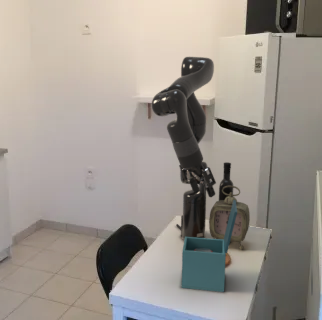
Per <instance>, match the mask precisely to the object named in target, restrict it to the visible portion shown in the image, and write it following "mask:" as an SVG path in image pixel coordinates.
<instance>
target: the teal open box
mask: <svg viewBox="0 0 322 320" xmlns="http://www.w3.org/2000/svg"><path fill="white" fill-rule="evenodd" d="M197 248H207V249H209V250H211V251H212V252H202V251H194V250H195V249H197ZM181 252H182V253H181V254H182V255H181V257H182V258H181V265H182V266H181V289H192V290H198V291H199V290H200V291H209V292H218V293H219V292H221V293H225V281H226V279H225V277H226V258H227V257H226V255H227V253H225V251H224V240H222V239H216V238H208V237H207V238H206V237H205V238H196V237H185V239H184V240H183V245H182V251H181Z"/></svg>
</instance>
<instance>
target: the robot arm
mask: <svg viewBox="0 0 322 320" xmlns="http://www.w3.org/2000/svg"><path fill="white" fill-rule="evenodd" d="M214 73H215V64H214V61H213V59H212V58H210V57H205V56H203V57H202V56H185V57H184V58H183V59H182V62H181V66H180V77H178V78H176V79H175V80H174V81H173V82H172V83H171V84H170V85H169V86H167V87H166V88H164V89H162V90H161V91H159V92H157V93H156V94H154V96H153V98H152V99H151V106H150V107H151V110H152V112H153V113H154V115H156V116H158V117H168V116H171V115H176V118H175V119H173V120H171V121H169V122H168V123H167V124H166V130H167V133H168V135H169V138H170V141H171V143H172V147H173V151H174V153H175V155H176V158H177V160H178V163H179V165H178V167H179V180H180V182H181V183H182V184H184V185H190V188H191V189H188V190H185V191H184V192H183V194H182V195H183V196H182V215H181V216H180V224H178V223H176V227H177V229H179V230H180V237H181V239H182V241H184V239H185V237H196V238H206V218H207V215H206V214H207V213H206V212H207V195H208V197H209V198H213V197H214V196H215V195H216V191H215V189H214V186H215V185H216V184H217V182H216V179H215V177H214V175H213V174H214V173H212V172H213V171H212V170H211V168H210V166H208V163H207V162H206V161H204V155H203V153H202V151H201V148H200V146H199V144H200V142H202V140H203V139H204V137H205V135H206V132H207V115H206V112H205V109H204V108H203V106H202V105H201V103H200V102H199V100H198V98H197V96H196V93H195V92H196V91H198V90H199V89H201V88H202V87H204V86H206V85H207V84H209V83H210V82H211V80H212V79H213V77H214Z"/></svg>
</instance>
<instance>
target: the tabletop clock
mask: <svg viewBox="0 0 322 320" xmlns="http://www.w3.org/2000/svg"><path fill="white" fill-rule="evenodd" d="M226 187H233V189H236V190H238V192H237V193H236V194H235V193H233V194H232V192H230V194H227V193H225V192H223V189H224V188H226ZM223 189H222V192H223V193H224V194H225V195H227V196H228V197H226V198H225V200H220V201H219V200H215V203H214V204H213V206H212V207H211V209H210V212H209V219H208V225H209V228H208V229H209V233H210V236H211V237H212V238H213V239H222V240H224V236H225V232H226V228H227V224H228V220H229V216H230V212H231V208H232V203H233V200H236V206H237V216H236V220H235V224H234V228H233V232H232V236H231V240H230V244H231V243H238V244H239V246H238V249H239V250H244V246H243V245H242V242H244V241H245V239H246V236H247V235H248V231H249V227H250V220H251V217H250V214H251V213H250V208H249V205H248V204H247V203H244V202H240V201H238V200H237V198H236V197H238V196H240V194H241V189H240V187H238V186H235V185H233V186H225V187H223ZM232 196H233V197H232Z"/></svg>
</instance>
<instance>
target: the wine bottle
mask: <svg viewBox="0 0 322 320" xmlns="http://www.w3.org/2000/svg"><path fill="white" fill-rule="evenodd" d="M231 169H232V162H226V161H225V162H223V179H221V181H220V182H219V186H218V201H220V200H225V198H226V197H228V196H227V195H225V194H224V193H223V192H225V193H227V194H230V192H232V194H233V195H234V188H233V187H226V188H224V189H223V187H225V186H234V183H233V182H234V181H232V180H231ZM222 189H223V192H222ZM232 197H234V196H232Z"/></svg>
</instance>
